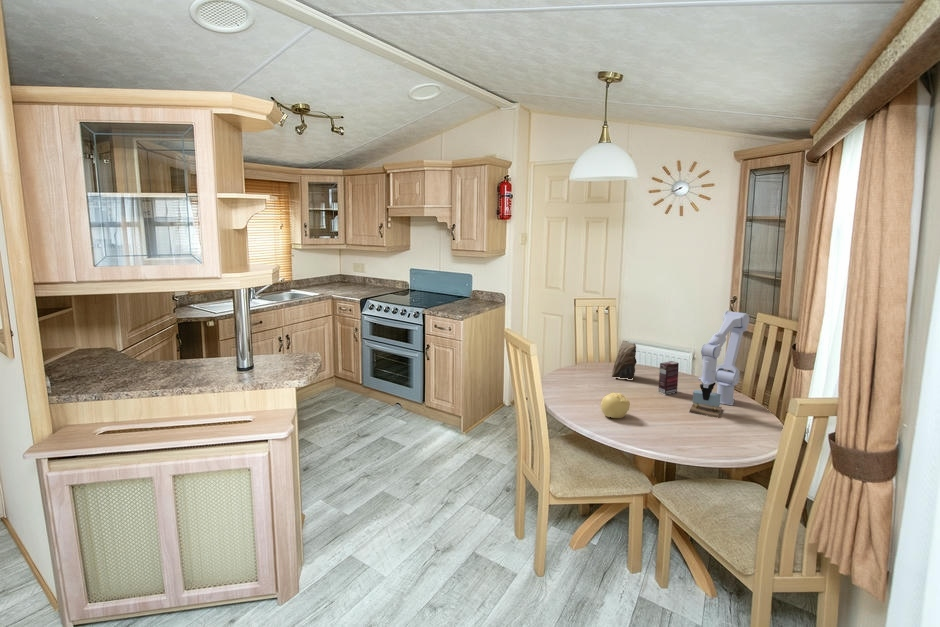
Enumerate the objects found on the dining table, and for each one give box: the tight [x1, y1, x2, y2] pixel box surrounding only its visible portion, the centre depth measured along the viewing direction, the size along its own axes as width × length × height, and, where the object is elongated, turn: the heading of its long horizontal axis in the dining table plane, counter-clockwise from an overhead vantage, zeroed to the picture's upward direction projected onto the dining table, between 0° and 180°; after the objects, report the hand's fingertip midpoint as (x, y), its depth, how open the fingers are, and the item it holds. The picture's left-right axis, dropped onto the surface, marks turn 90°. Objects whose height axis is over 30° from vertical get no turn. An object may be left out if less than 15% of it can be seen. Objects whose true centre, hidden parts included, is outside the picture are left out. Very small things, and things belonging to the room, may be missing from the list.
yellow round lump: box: [600, 392, 631, 419], centre depth 226 cm, size 11×12×11 cm
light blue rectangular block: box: [691, 389, 721, 407], centre depth 231 cm, size 11×4×5 cm, turn 58°
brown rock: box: [611, 339, 637, 379], centre depth 278 cm, size 13×13×20 cm
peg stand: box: [689, 403, 723, 418], centre depth 232 cm, size 12×12×4 cm
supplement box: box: [658, 360, 680, 396], centre depth 254 cm, size 9×5×16 cm, turn 115°
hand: (706, 398), depth 231 cm, fingers closed on light blue rectangular block, 4 cm apart
